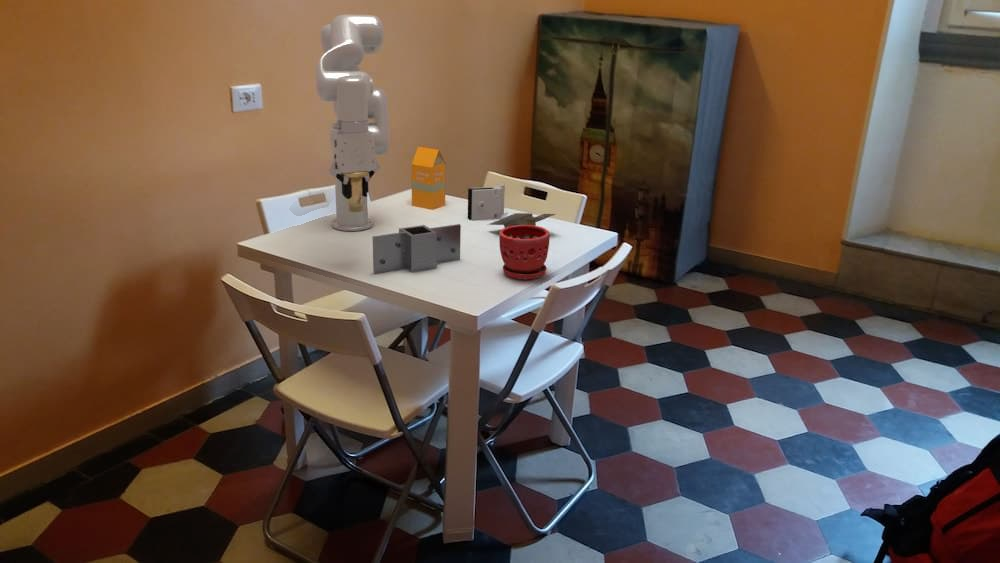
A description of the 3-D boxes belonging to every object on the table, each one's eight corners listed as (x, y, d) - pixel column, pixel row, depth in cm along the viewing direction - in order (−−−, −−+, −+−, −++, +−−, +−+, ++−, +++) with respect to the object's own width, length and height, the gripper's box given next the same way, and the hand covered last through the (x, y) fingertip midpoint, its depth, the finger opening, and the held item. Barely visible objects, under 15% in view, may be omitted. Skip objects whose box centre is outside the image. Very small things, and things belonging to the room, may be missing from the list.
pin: (339, 207, 207) (337, 168, 203) (362, 204, 210) (361, 165, 206) (348, 214, 201) (347, 174, 197) (372, 211, 205) (371, 171, 201)
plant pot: (526, 262, 217) (528, 220, 212) (557, 276, 207) (560, 233, 203) (488, 271, 209) (489, 228, 205) (518, 286, 200) (520, 241, 195)
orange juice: (432, 210, 263) (432, 150, 256) (411, 205, 267) (410, 147, 260) (445, 205, 269) (446, 147, 262) (425, 200, 273) (424, 143, 266)
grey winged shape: (492, 249, 238) (518, 228, 227) (485, 224, 241) (510, 201, 230) (535, 250, 248) (562, 229, 236) (528, 225, 250) (555, 203, 239)
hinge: (502, 213, 262) (503, 184, 258) (510, 217, 257) (511, 188, 254) (465, 218, 255) (466, 188, 252) (473, 222, 251) (473, 192, 247)
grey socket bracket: (368, 268, 208) (367, 233, 204) (453, 254, 221) (453, 220, 217) (379, 277, 202) (379, 241, 198) (466, 262, 215) (466, 228, 211)
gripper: (326, 132, 190) (329, 204, 197) (389, 127, 199) (390, 196, 206) (315, 126, 196) (319, 196, 203) (377, 121, 204) (379, 189, 211)
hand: (355, 195), depth 204 cm, fingers closed on pin, 4 cm apart
